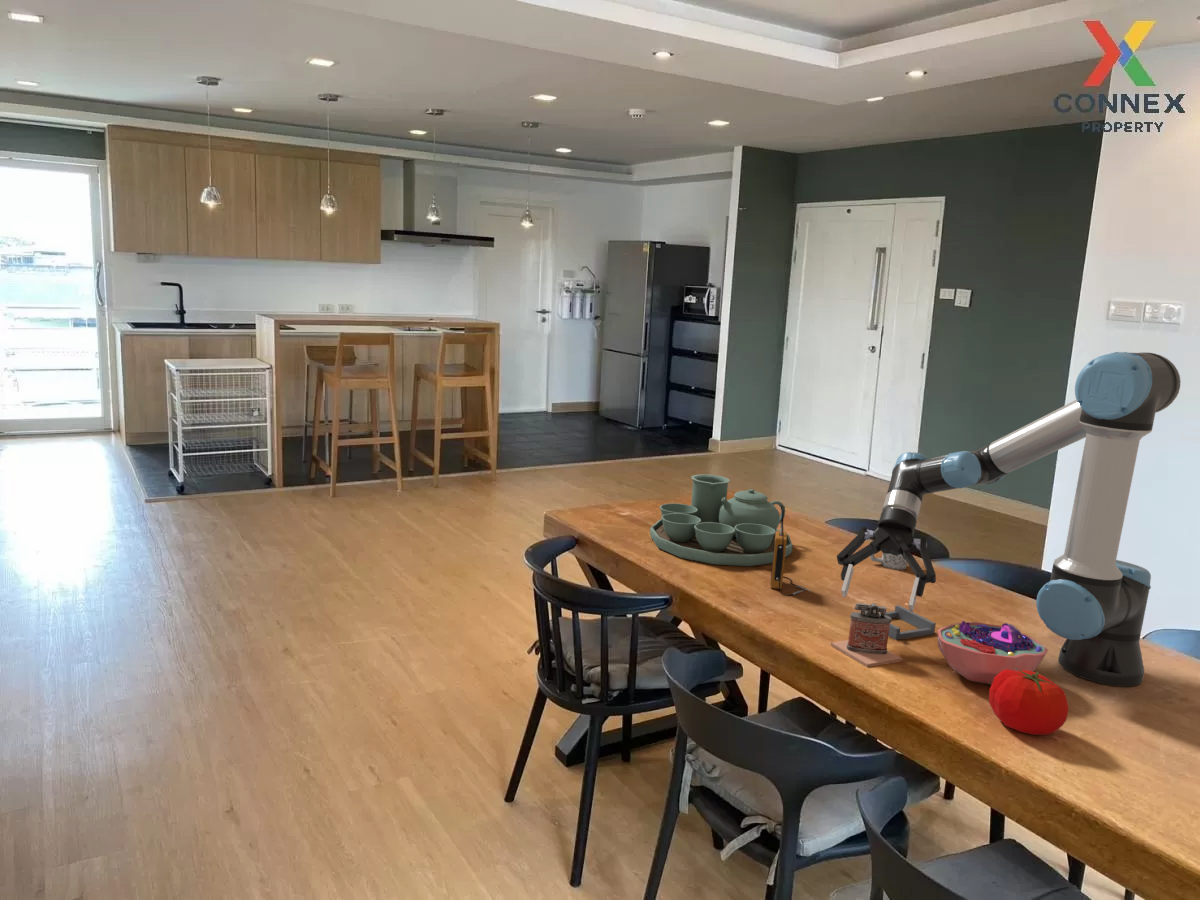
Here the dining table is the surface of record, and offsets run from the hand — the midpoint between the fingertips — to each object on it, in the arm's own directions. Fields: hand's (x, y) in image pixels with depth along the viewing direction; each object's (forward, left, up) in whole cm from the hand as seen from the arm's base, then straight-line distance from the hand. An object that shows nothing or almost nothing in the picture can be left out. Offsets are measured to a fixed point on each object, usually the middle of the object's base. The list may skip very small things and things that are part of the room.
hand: (876, 601), depth 182 cm
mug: (+43, -45, -11) cm, 63 cm away
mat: (-2, +3, -10) cm, 11 cm away
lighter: (-2, +3, -10) cm, 10 cm away
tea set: (+71, -9, -11) cm, 73 cm away
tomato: (-36, -2, -10) cm, 37 cm away
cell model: (-19, -12, -10) cm, 25 cm away
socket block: (+7, -14, -10) cm, 19 cm away
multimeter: (+36, -7, -10) cm, 38 cm away
